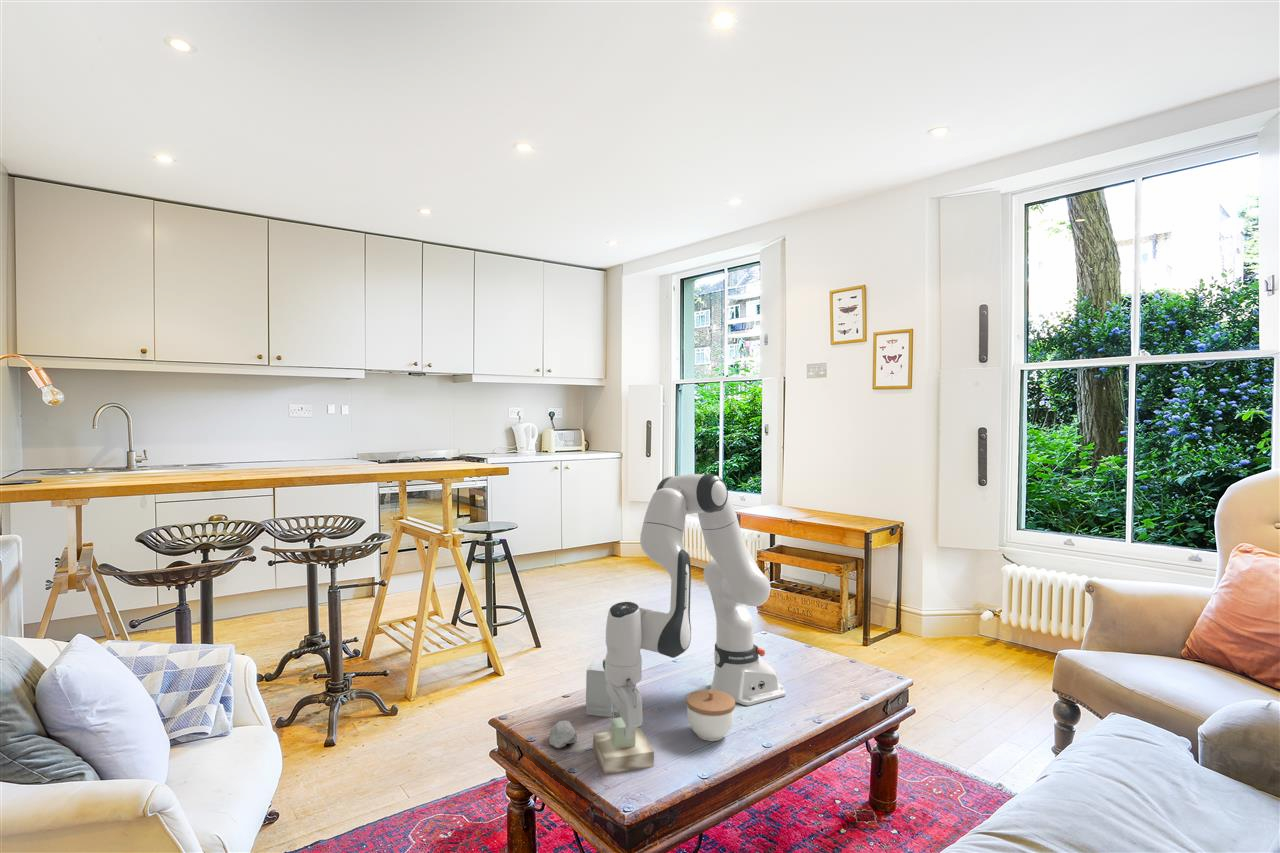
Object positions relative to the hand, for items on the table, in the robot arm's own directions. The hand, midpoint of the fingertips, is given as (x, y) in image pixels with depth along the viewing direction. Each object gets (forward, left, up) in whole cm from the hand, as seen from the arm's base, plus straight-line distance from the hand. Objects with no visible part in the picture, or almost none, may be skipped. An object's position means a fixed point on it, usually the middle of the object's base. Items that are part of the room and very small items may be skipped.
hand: (622, 727), depth 156 cm
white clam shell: (+13, -11, -8) cm, 18 cm away
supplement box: (-1, -25, -7) cm, 26 cm away
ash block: (0, 0, -8) cm, 8 cm away
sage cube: (0, 0, -4) cm, 4 cm away
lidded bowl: (-25, -4, -7) cm, 26 cm away
